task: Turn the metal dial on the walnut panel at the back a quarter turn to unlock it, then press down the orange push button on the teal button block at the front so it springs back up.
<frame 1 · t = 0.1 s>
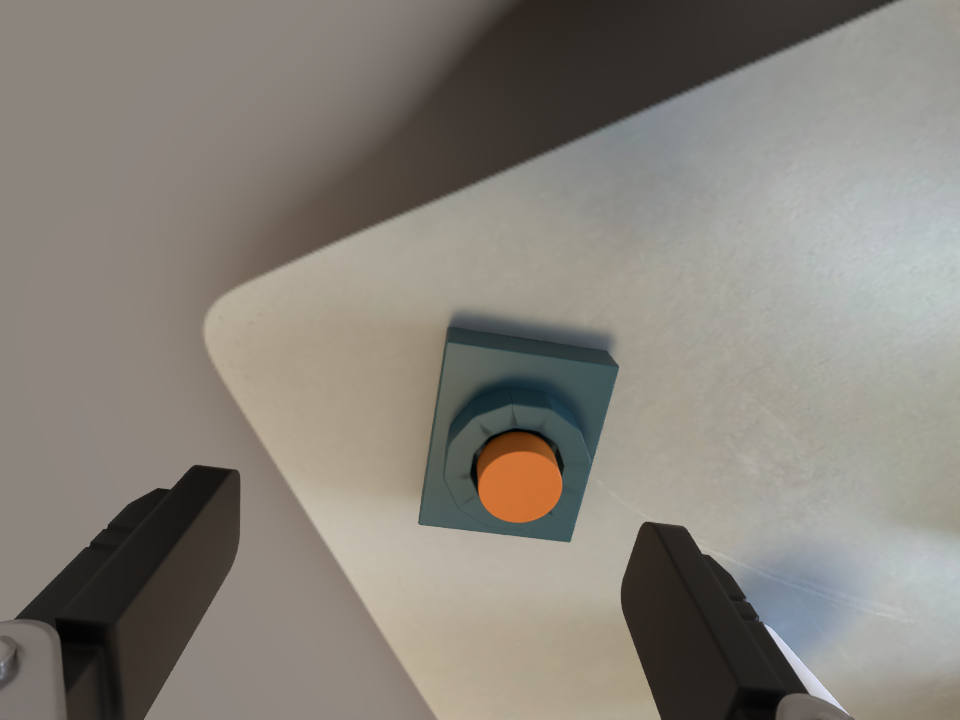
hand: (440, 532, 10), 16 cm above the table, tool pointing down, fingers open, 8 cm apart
cup: (727, 653, 33), on the table
push button: (518, 476, 23), point 4 cm above the table, slide at 0.1 cm
button block: (509, 428, 27), on the table
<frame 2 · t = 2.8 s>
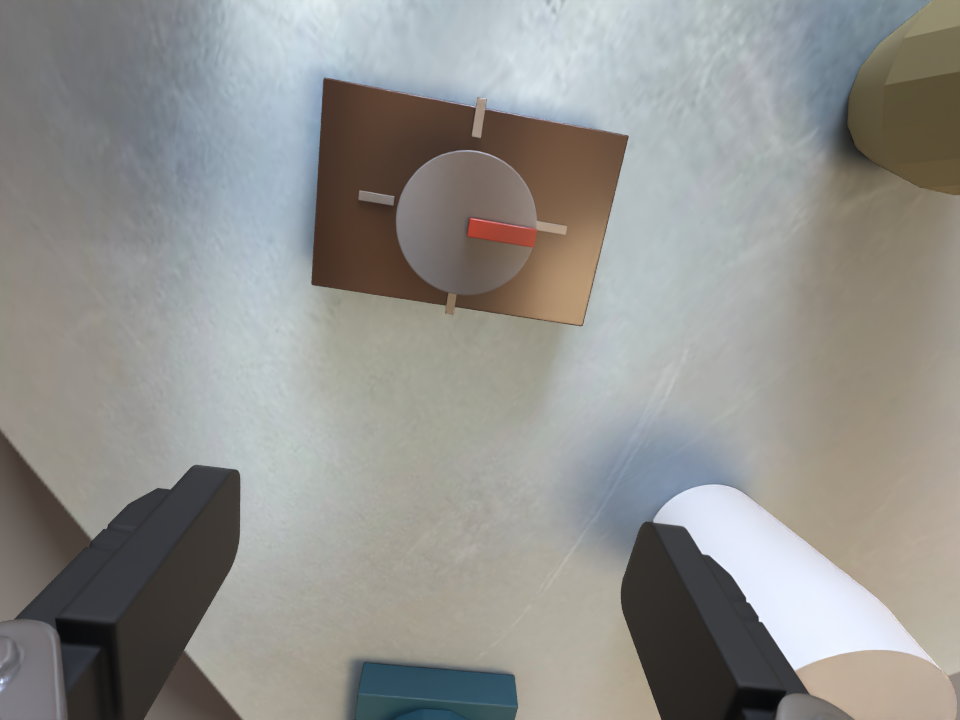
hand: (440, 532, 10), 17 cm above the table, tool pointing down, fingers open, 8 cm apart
cup: (700, 527, 31), on the table
dial: (465, 219, 19), point 6 cm above the table, hinge at 0.0°
squeeze bottle: (905, 98, 23), on the table
dial panel: (463, 208, 24), on the table
button block: (432, 711, 35), on the table
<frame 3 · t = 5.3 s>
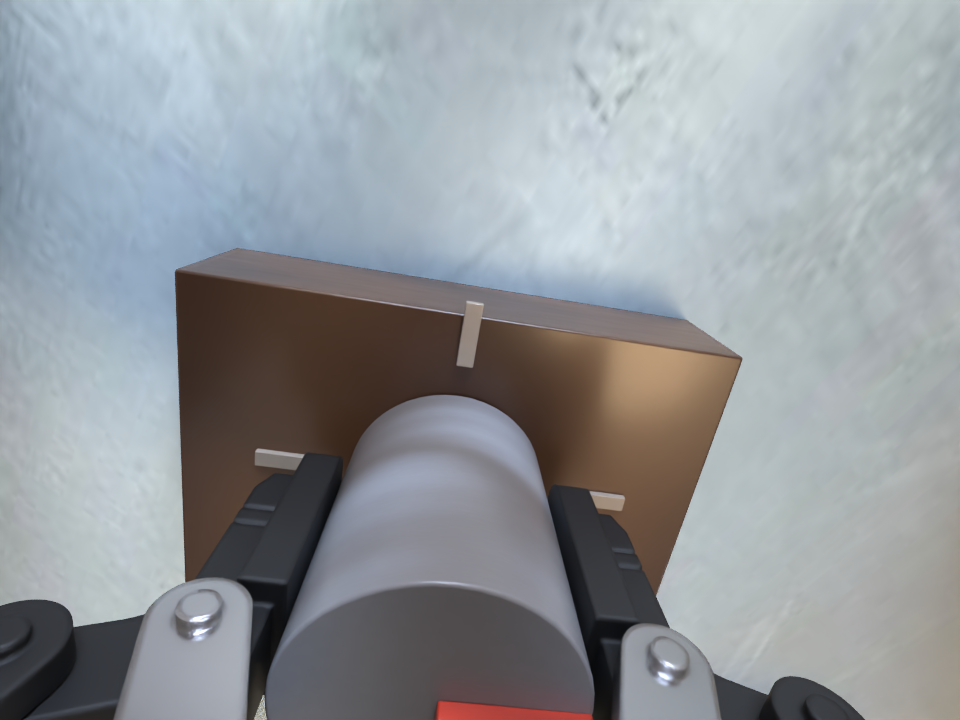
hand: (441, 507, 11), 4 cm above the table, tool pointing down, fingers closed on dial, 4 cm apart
dial: (439, 570, 9), point 6 cm above the table, hinge at -0.1°, touching gripper
dial panel: (448, 420, 15), on the table
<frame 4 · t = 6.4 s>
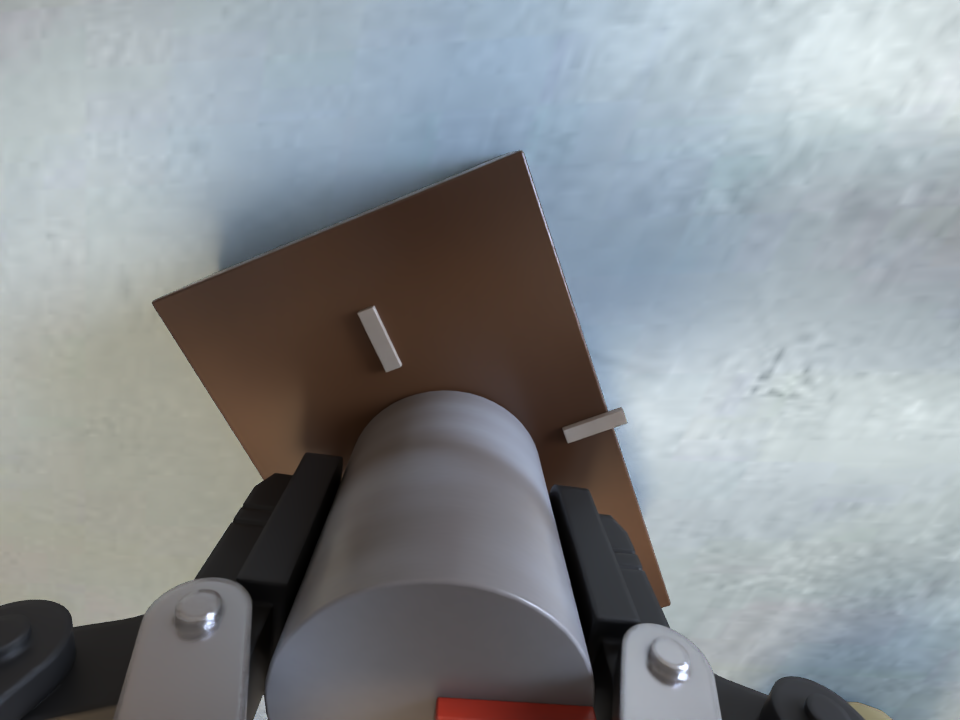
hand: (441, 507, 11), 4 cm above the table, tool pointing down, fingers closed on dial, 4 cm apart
dial: (440, 567, 9), point 6 cm above the table, hinge at 62.0°, touching gripper
dial panel: (449, 415, 15), on the table
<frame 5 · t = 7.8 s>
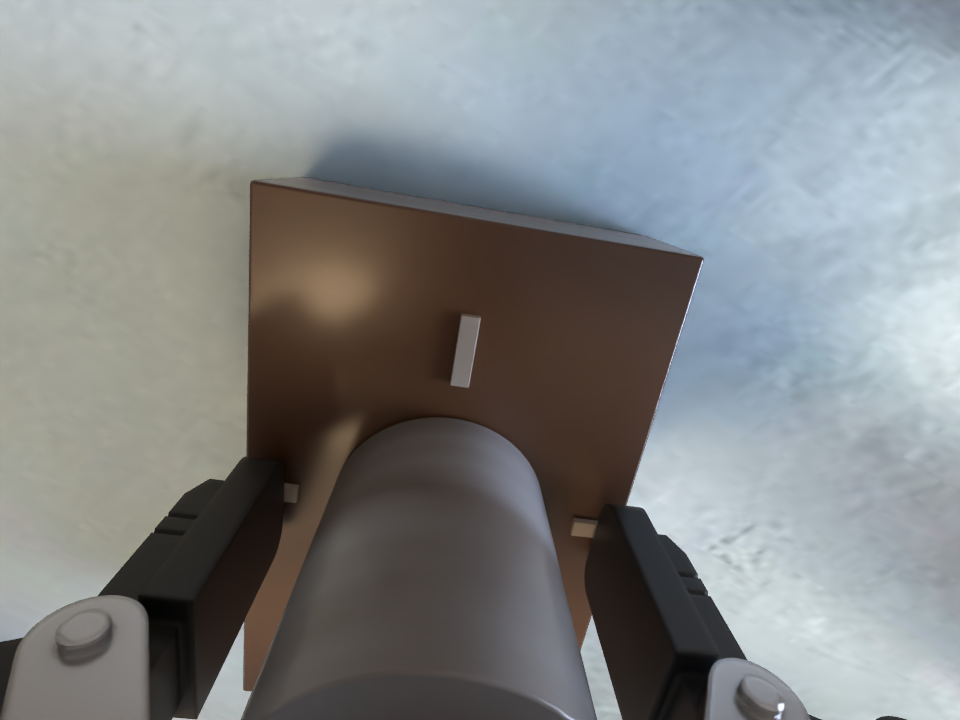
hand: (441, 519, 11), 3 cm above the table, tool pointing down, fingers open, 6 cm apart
dial: (430, 623, 8), point 6 cm above the table, hinge at 94.6°
dial panel: (443, 438, 14), on the table
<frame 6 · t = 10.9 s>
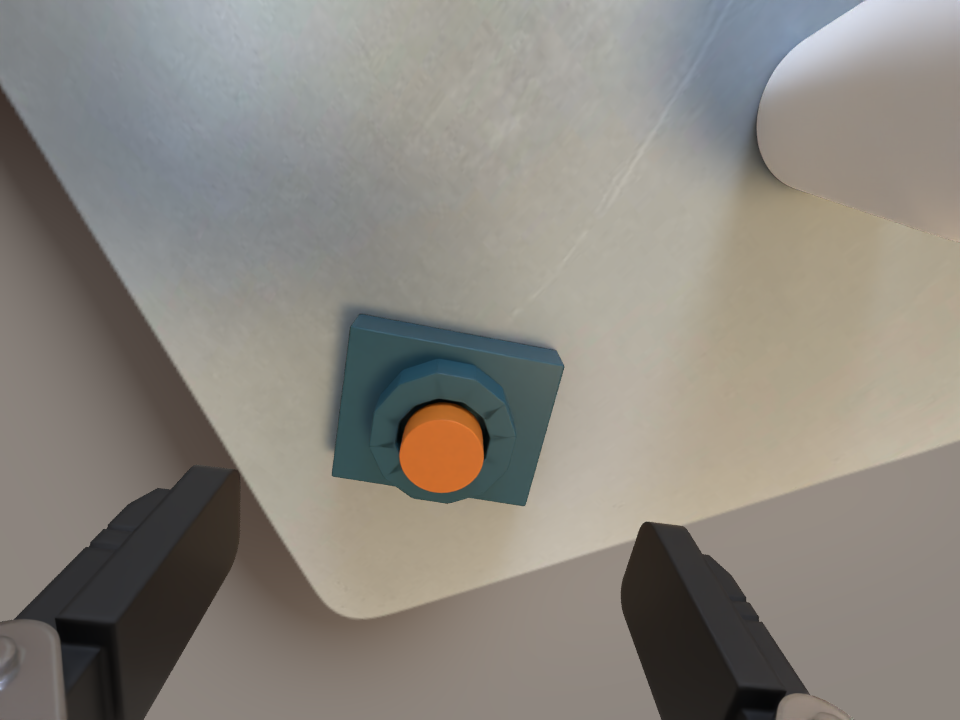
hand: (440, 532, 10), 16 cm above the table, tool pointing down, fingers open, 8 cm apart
cup: (826, 113, 23), on the table
push button: (442, 447, 23), point 4 cm above the table, slide at 0.1 cm
button block: (445, 403, 27), on the table
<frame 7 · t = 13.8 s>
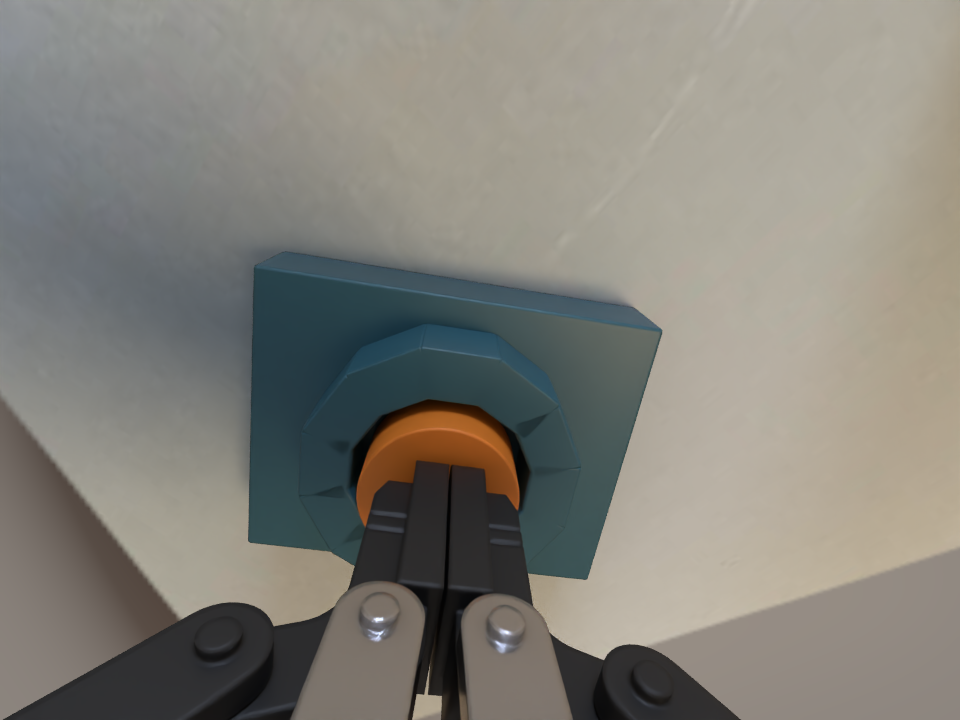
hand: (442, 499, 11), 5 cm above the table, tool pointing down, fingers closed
push button: (439, 479, 12), point 4 cm above the table, slide at -0.5 cm, touching gripper
button block: (444, 407, 16), on the table
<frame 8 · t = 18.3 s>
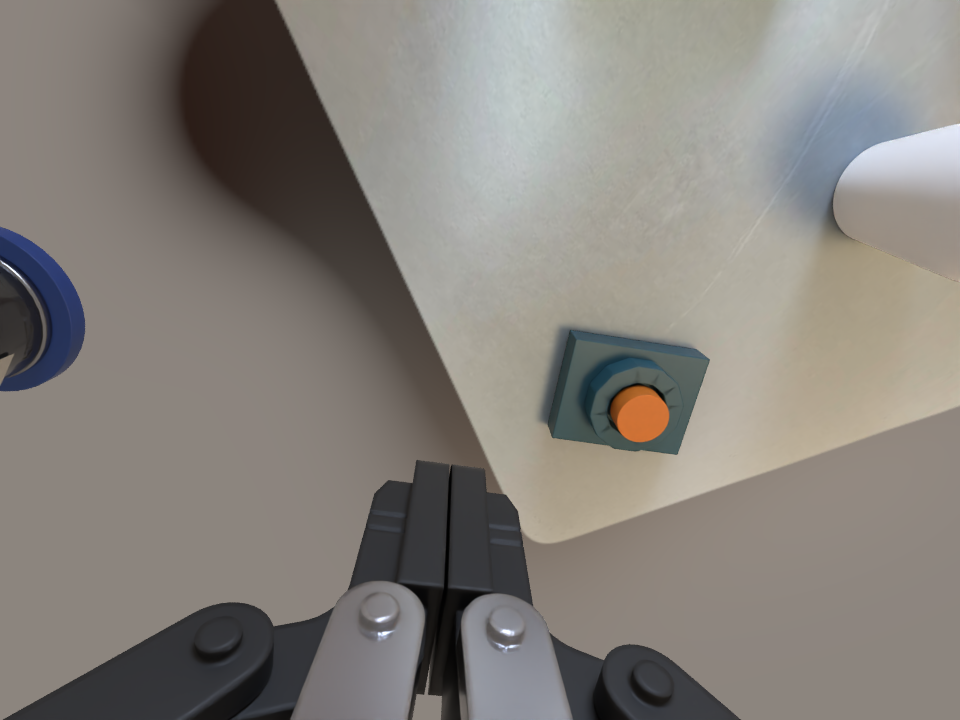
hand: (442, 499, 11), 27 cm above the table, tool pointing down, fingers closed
cup: (877, 192, 36), on the table
push button: (639, 413, 36), point 4 cm above the table, slide at 0.1 cm
button block: (620, 387, 40), on the table
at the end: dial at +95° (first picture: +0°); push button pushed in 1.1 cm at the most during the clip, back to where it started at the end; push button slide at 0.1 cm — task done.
